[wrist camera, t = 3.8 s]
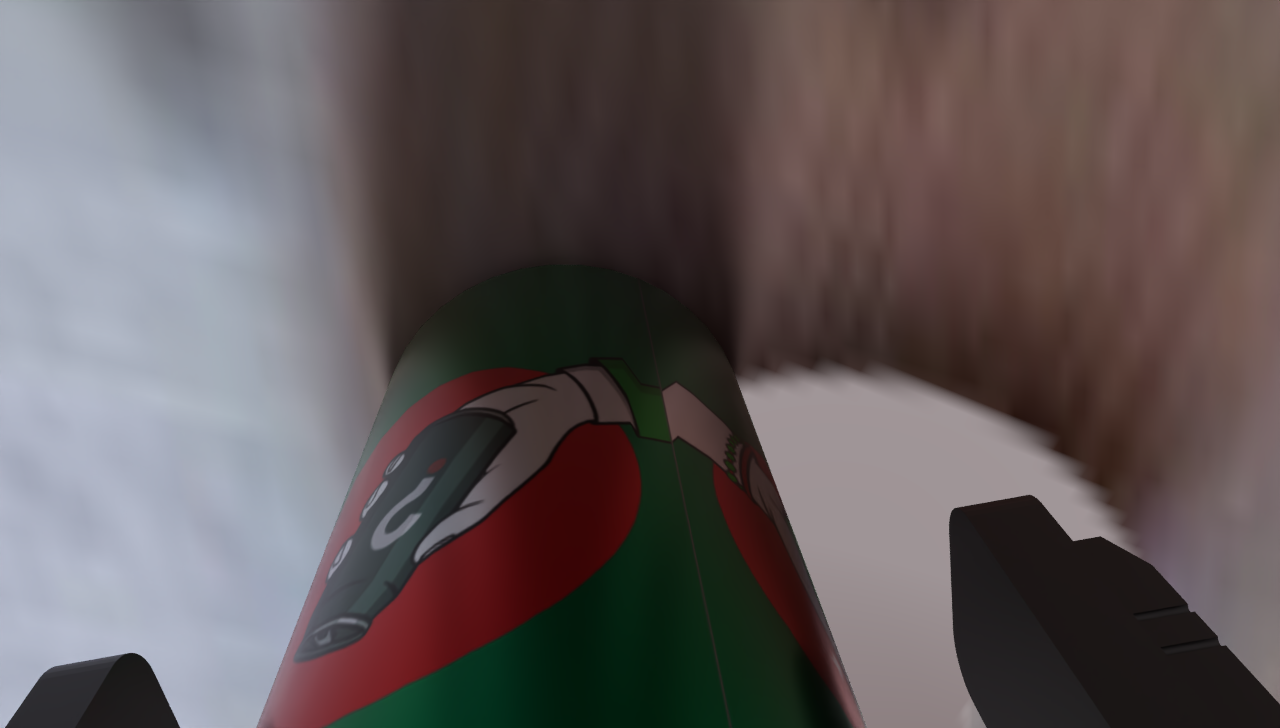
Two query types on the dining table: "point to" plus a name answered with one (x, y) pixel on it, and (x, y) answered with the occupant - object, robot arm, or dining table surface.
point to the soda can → (562, 534)
